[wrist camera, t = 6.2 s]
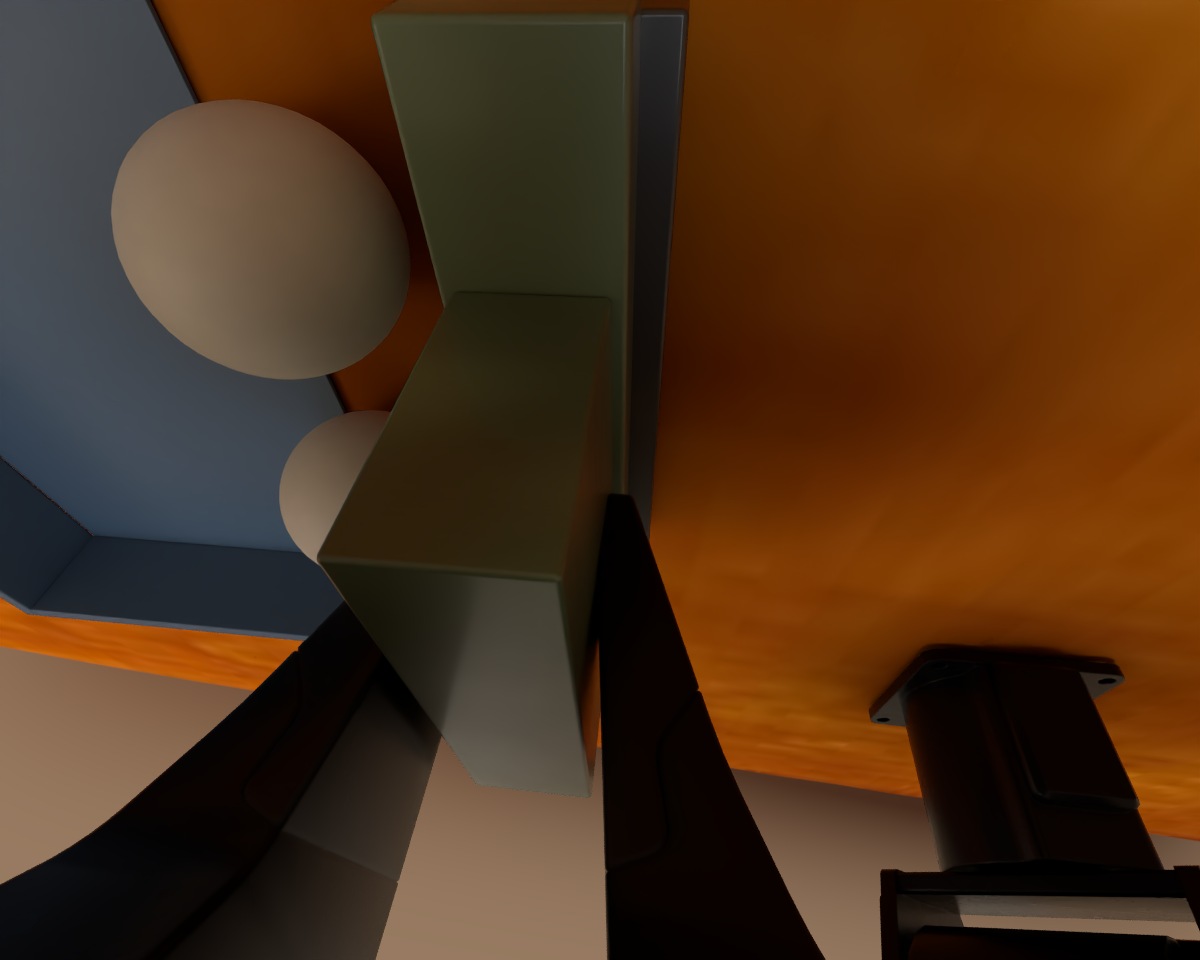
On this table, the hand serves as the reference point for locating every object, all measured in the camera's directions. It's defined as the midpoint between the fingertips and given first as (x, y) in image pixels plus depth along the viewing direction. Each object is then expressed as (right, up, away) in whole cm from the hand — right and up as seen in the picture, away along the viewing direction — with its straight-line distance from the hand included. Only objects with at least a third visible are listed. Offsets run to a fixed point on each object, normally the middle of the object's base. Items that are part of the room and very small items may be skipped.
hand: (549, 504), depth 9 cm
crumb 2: (-3, 0, +4) cm, 5 cm away
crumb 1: (-4, +3, -2) cm, 5 cm away
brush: (0, +3, +2) cm, 4 cm away
